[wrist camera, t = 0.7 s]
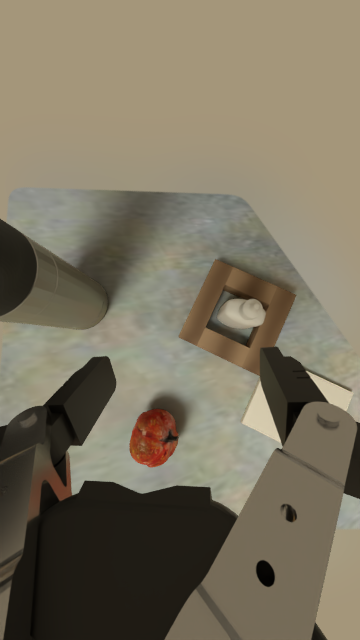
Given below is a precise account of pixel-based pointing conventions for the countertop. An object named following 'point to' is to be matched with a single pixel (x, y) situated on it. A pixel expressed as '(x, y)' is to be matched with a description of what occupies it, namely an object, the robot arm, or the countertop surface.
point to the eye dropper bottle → (241, 313)
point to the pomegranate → (154, 438)
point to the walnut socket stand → (246, 288)
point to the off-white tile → (261, 416)
